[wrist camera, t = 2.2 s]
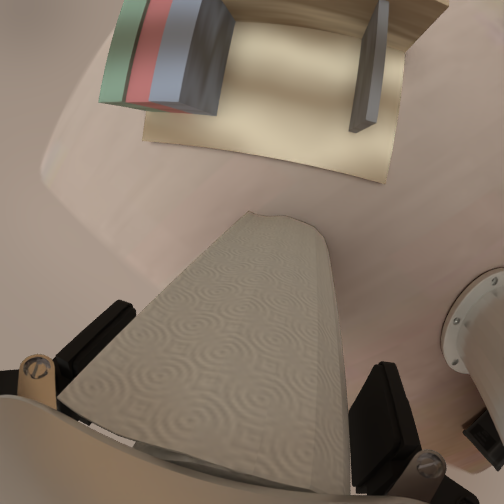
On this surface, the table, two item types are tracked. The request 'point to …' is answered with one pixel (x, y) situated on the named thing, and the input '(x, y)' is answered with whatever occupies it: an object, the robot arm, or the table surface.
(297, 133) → the book rack
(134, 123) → the table surface
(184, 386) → the paper towel roll
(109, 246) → the table surface
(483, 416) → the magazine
